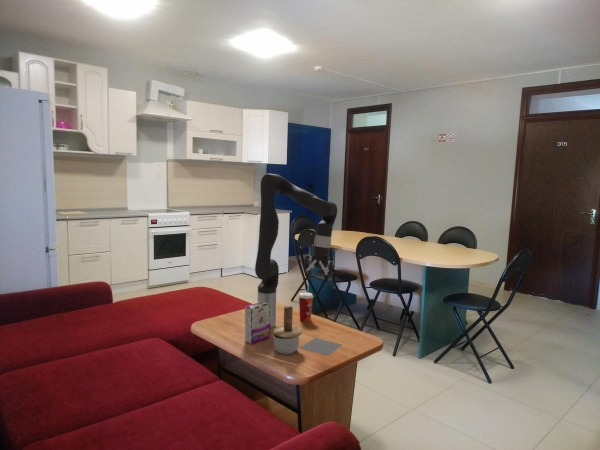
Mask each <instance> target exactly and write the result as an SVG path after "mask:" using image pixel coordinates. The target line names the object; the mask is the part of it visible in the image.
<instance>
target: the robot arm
mask: <svg viewBox="0 0 600 450" xmlns="http://www.w3.org/2000/svg"><path fill="white" fill-rule="evenodd" d="M276 194H281V195H284V196H287V197H289V198H291V199H292V200H293V201H294V202H296V204H298V205H300V206H302V207H304V208H306V209H307V210H310V211H312V212H313V213H315V214H316V215H318V216H320V217H321V219H320V222H318V223H317V226H316V231H315V236H314V240H313V241H314V242H313V247H312V255H306V256H305V260H304V265H303V268H304V269H306V270H307V272H306V278H307V280H309V279H312V275H313V274H312V273H313V269H314V268H319V269H321V270H322V271H323V272H324V277H323V278H324V279H323V284H327V283H328V282H329V280H330V279H329V278H330V275H331V276H332V275H334V273H335V263H336V261H334V260H329V259H330V258H329V257H330V254H331V246H332V234H333V227H334V226H335V225H334V224H335V221H336V219H337V216H338V206H337V204H336V203H335V202H333V201H327V200H324V199H322V198H320V197H318V195H316V194H314V193H312V192H310V191H307V190H306V189H303V188H302V187H298V186H296V185H295V184H293V183H291V181H289V180H287V179H286V178H284V176H281V175H280V174H277V173H266V174H264V175H263V176H262V178H261V181H260V216H259V217H260V218H259V227H258V228H259V230H258V232H259V234H258V242H257V243H258V245H257V254H256V259H255V265H254V270H255V271H254V272H255V275H256V276H257V279H259V280H261V281H260V283H259V284H258V286H257V303H259V302H263V301H264V302H267V303H270V329H271V328H274V327H275V326H276V325H277V288H278V285H279V275H280V269H279V268H280V267H279V265H278V262H277V261H276V259H273V258H272V250H273V249H274V246H275V243H276V241H277V238H278V235H279V225H280V222H279V221H280V220H279V216H278V212H277V211H276V205H275V195H276Z"/></svg>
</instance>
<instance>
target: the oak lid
mask: <svg viewBox="0 0 600 450" xmlns="http://www.w3.org/2000/svg"><path fill="white" fill-rule="evenodd" d="M293 309H294V308H293V306H292V305H285V306H283V325H280V326H276V327H275V328H274V327H273V334H275V335H276V336H279V337H284V338H292V337H297V336H299V337H300V336H301V335H302V334H303V329H302V328H301V327H299V326H297V325H293Z"/></svg>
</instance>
